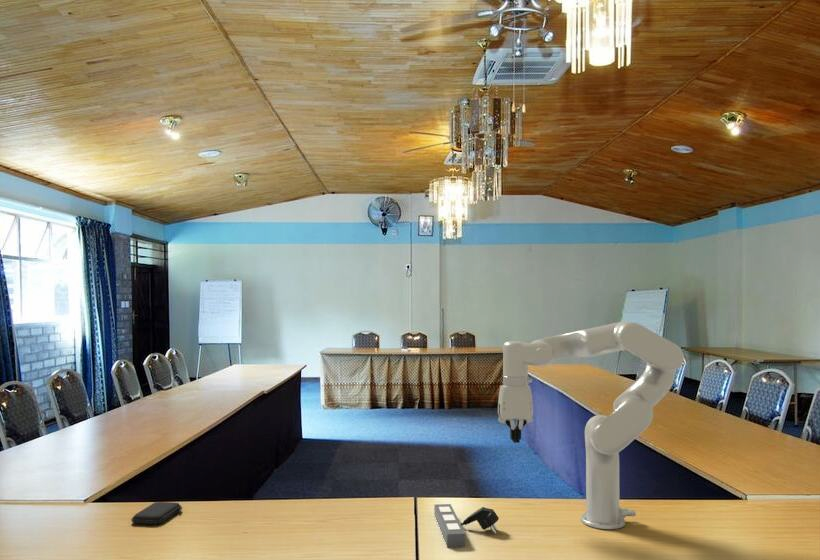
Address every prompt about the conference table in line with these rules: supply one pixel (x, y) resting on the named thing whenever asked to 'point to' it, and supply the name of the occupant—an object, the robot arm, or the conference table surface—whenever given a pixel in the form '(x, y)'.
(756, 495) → the conference table surface
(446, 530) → the power strip
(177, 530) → the conference table surface
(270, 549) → the conference table surface
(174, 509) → the carrying case or bag
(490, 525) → the power plug
